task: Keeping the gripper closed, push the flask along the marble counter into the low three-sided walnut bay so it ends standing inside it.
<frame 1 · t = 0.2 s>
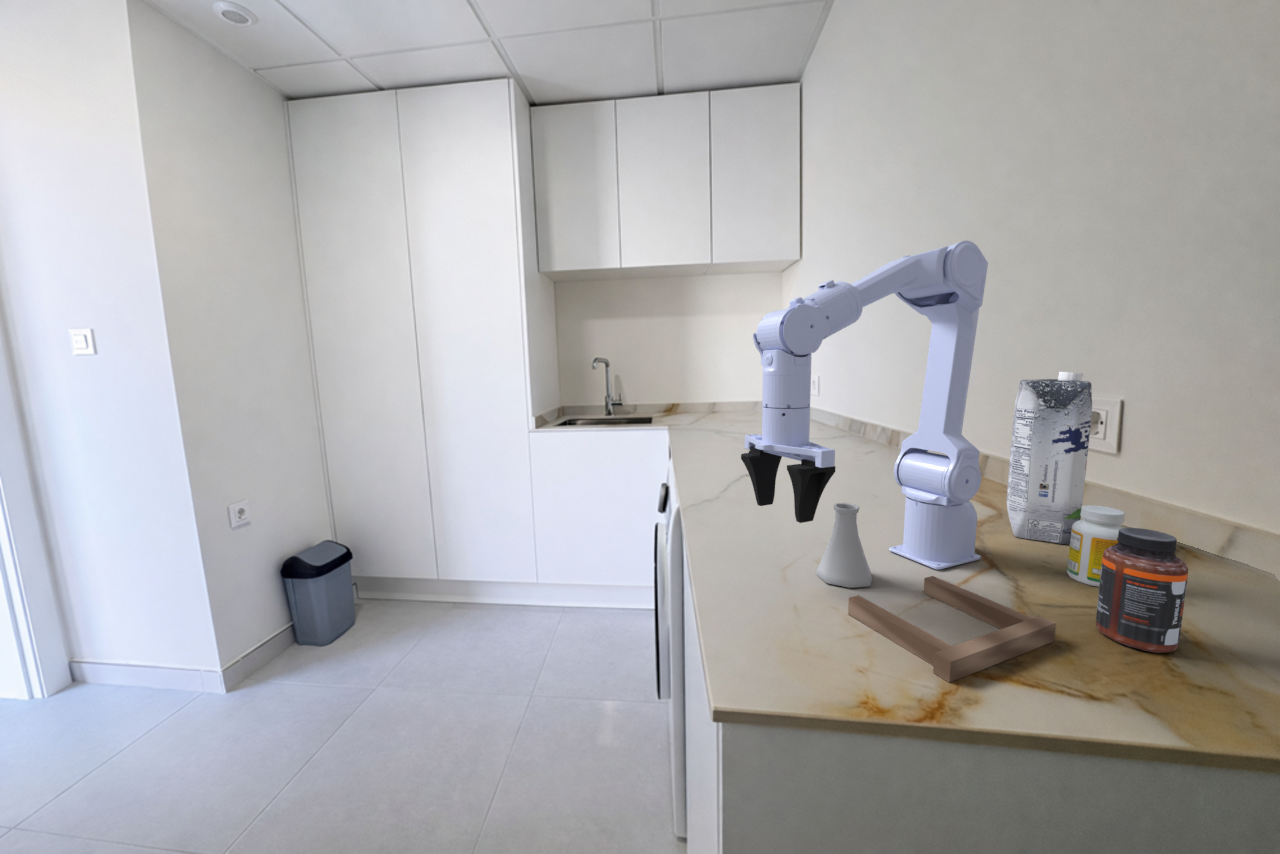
hand: (783, 512, 60), 10 cm above the worktop, tool pointing down, fingers open, 7 cm apart
flask: (843, 578, 64), on the worktop
juice carton: (1038, 535, 78), on the worktop
walnut bay: (935, 624, 52), on the worktop
supplement bottle: (1094, 581, 62), on the worktop
supplement bottle 2: (1134, 640, 48), on the worktop
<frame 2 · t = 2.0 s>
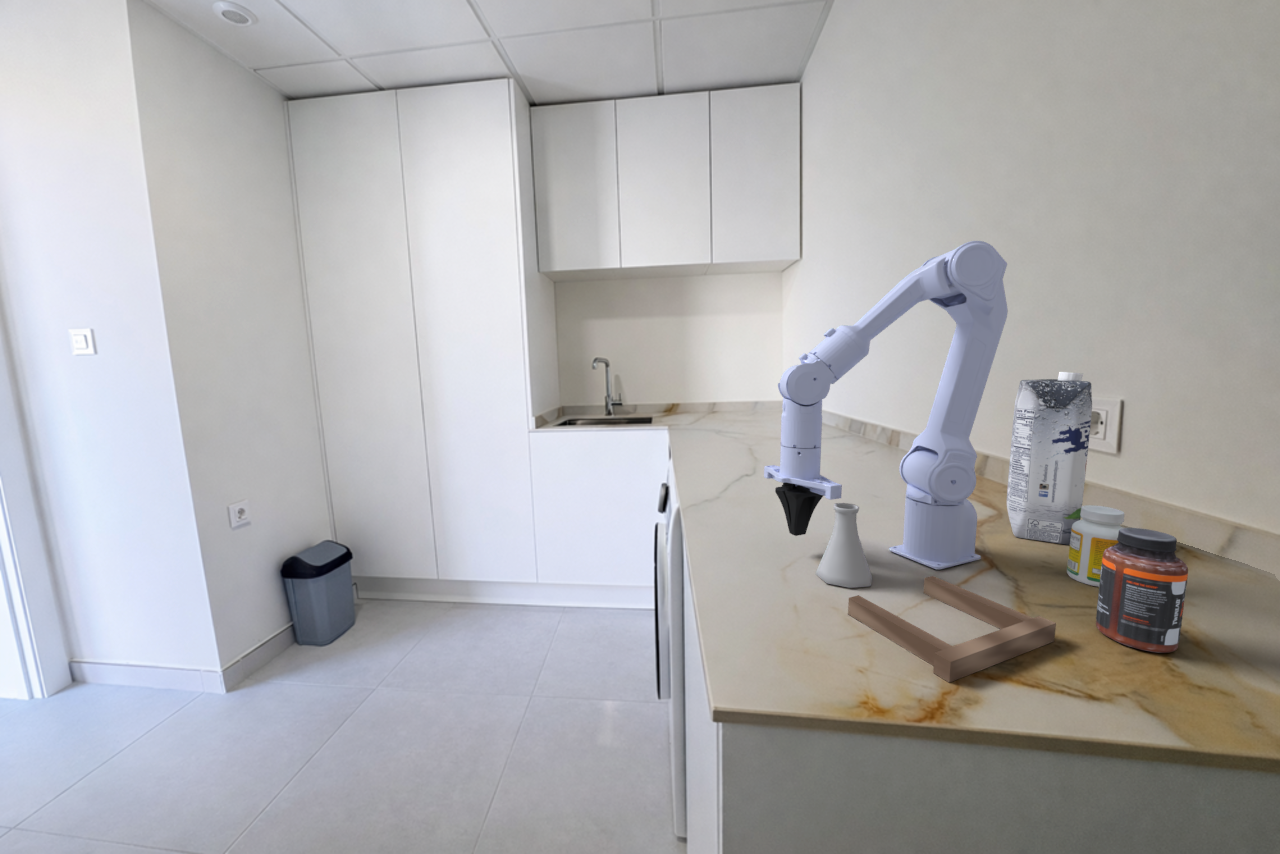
hand: (797, 533, 71), 3 cm above the worktop, tool pointing down, fingers closed
nothing on the worktop moved.
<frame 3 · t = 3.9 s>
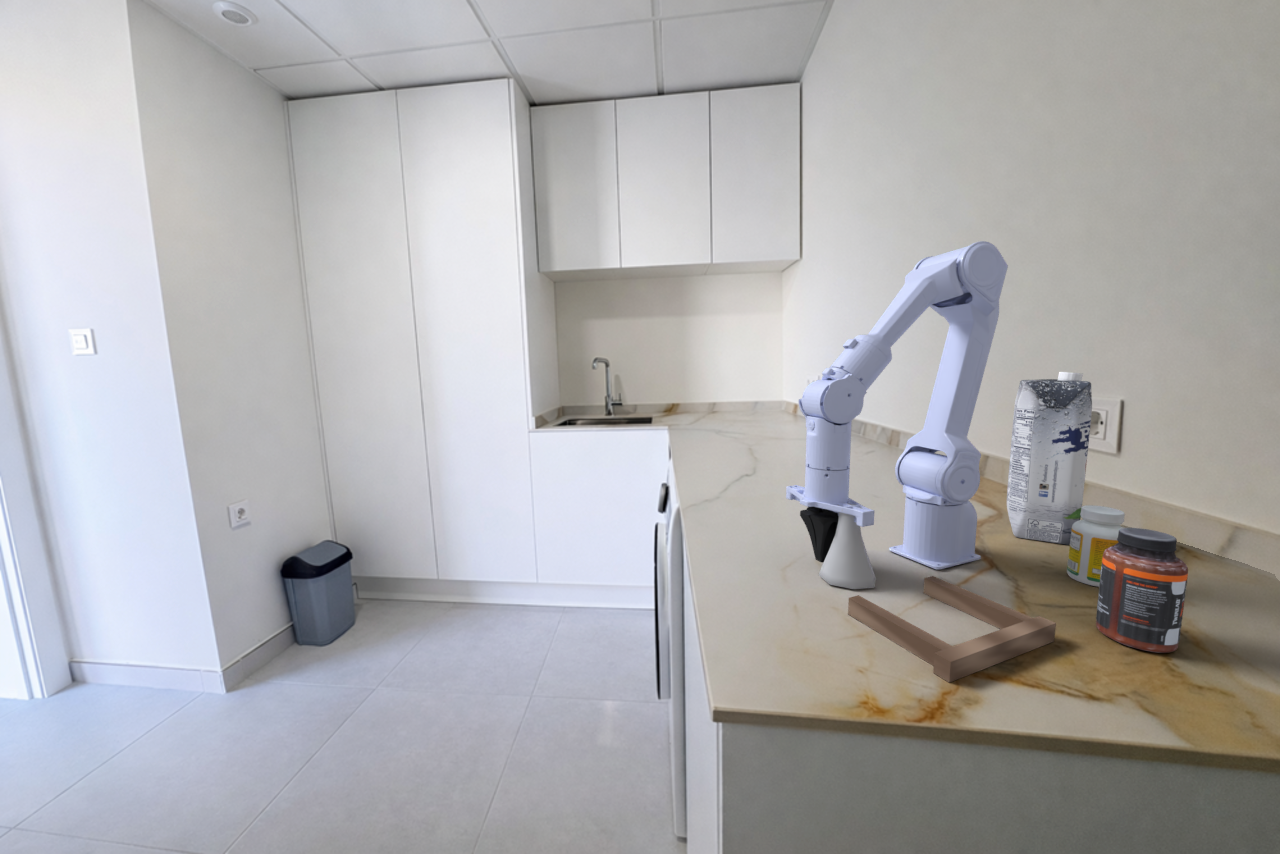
hand: (823, 560, 67), 1 cm above the worktop, tool pointing down, fingers closed
flask: (846, 580, 63), on the worktop, touching gripper
everything else where it was.
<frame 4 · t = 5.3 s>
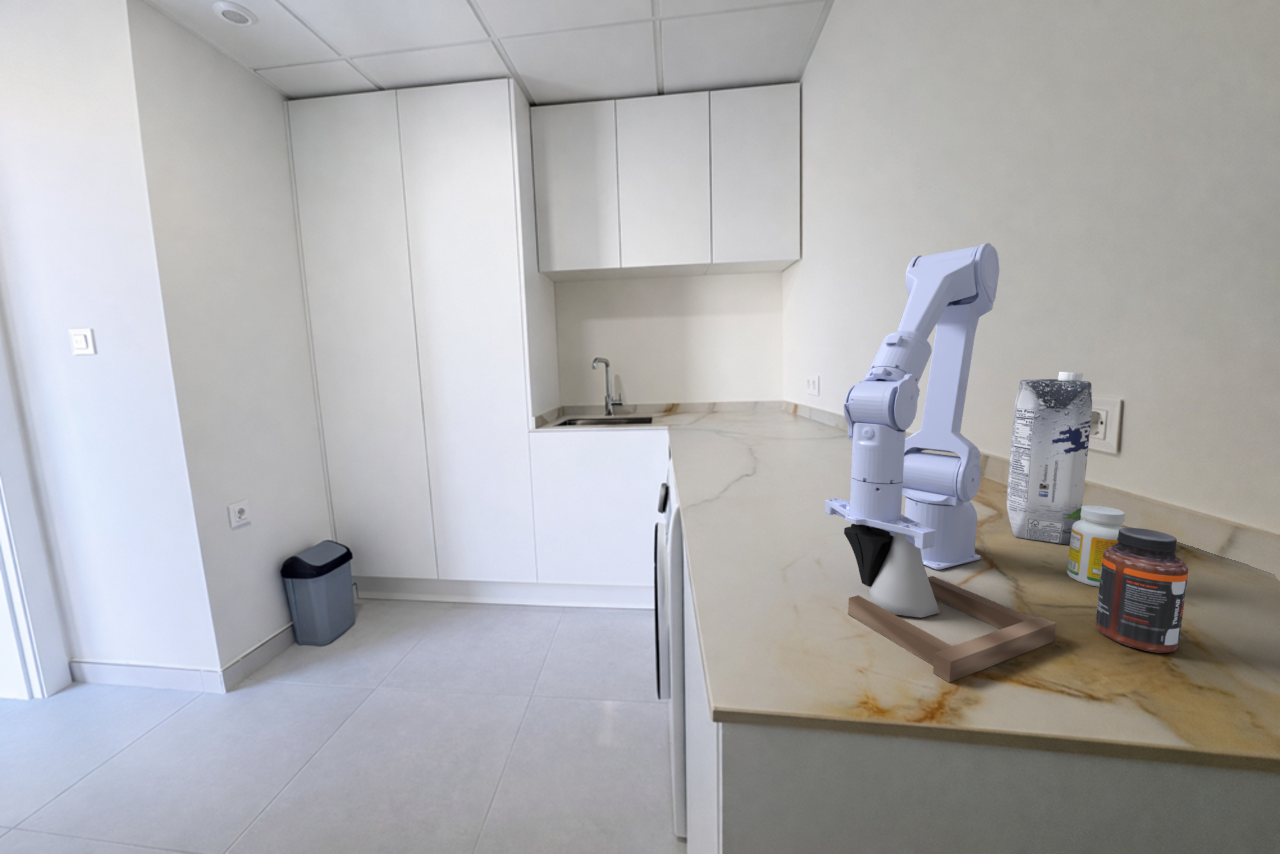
hand: (871, 583, 59), 1 cm above the worktop, tool pointing down, fingers closed
flask: (902, 605, 56), on the worktop, touching gripper
everything else where it was.
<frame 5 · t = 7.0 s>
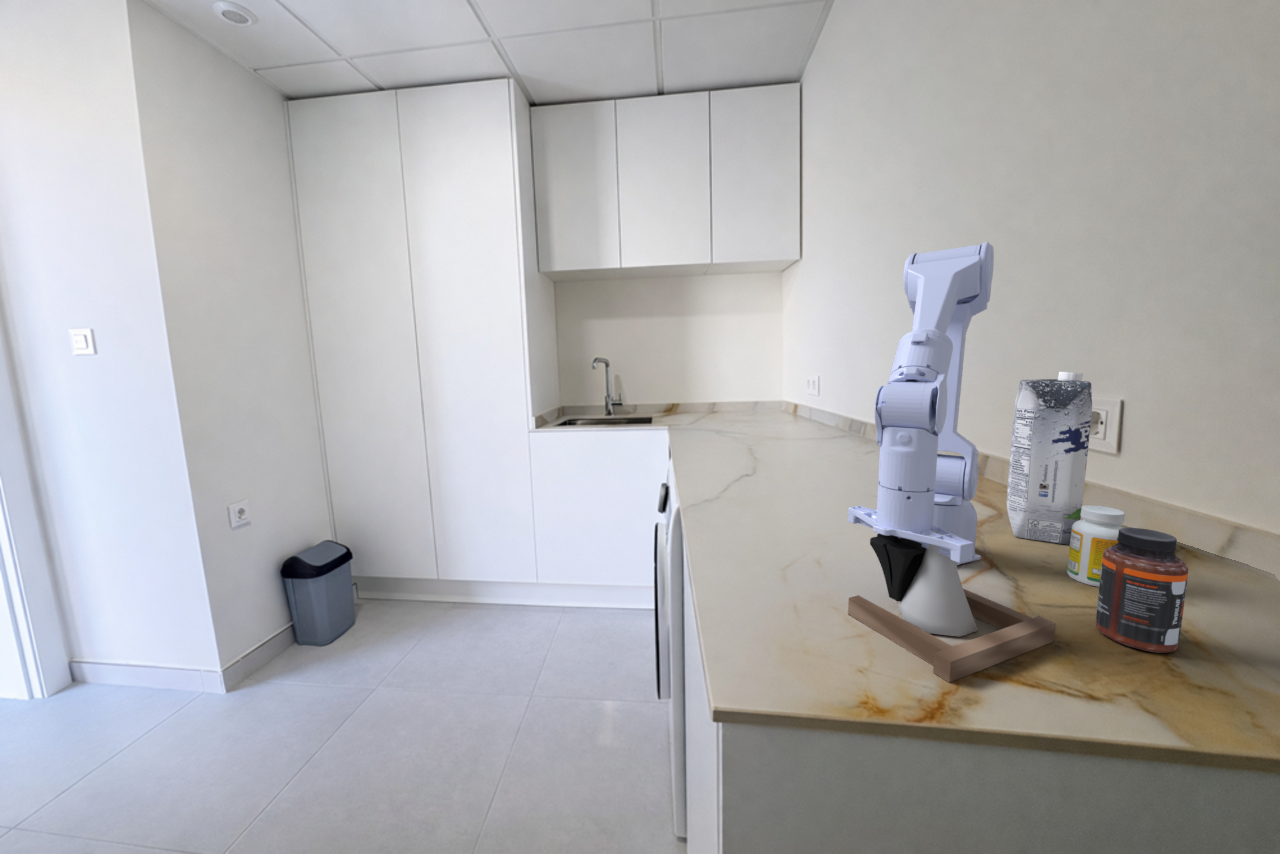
hand: (899, 597, 56), 1 cm above the worktop, tool pointing down, fingers closed
flask: (935, 622, 52), on the worktop, touching gripper
everything else where it was.
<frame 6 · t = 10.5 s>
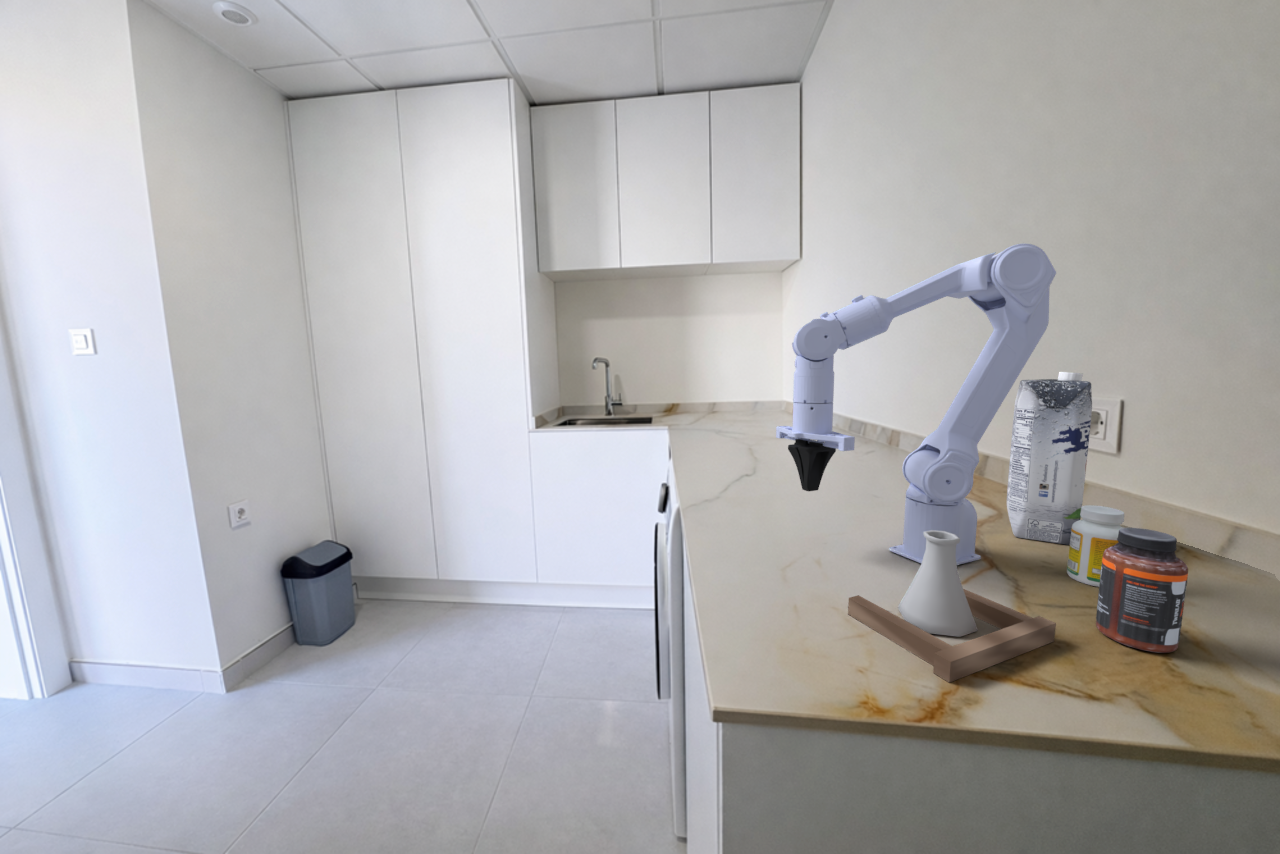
hand: (810, 489, 73), 9 cm above the worktop, tool pointing down, fingers closed
flask: (935, 622, 52), on the worktop
everything else where it was.
at the end: flask inside the target area on the walnut bay (2.1 cm from its centre), point 0.0 cm above the walnut bay's base; flask tilted 0° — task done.
